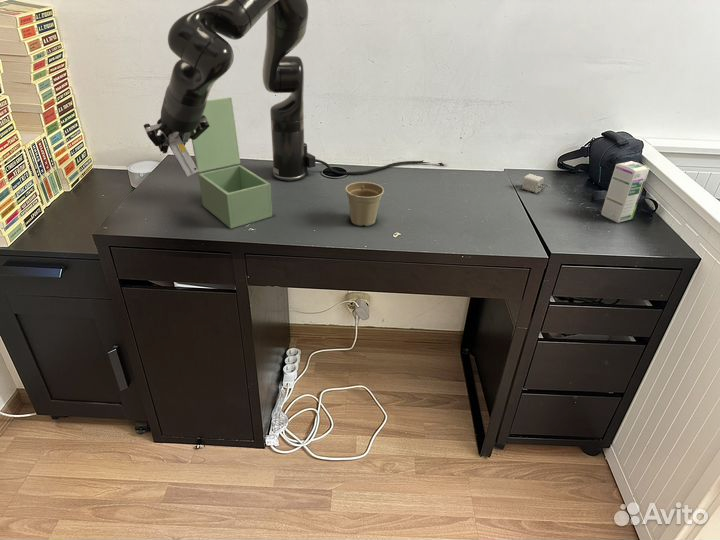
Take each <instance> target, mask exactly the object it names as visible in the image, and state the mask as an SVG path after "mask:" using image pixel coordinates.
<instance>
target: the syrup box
mask: <svg viewBox="0 0 720 540" xmlns="http://www.w3.org/2000/svg"><path fill="white" fill-rule="evenodd" d="M650 169H651V168H650V167H649V166H647V165H644V164H642V163H639V162H636V161H632V160H630V161H626V162H620V163H616V164H615V167H614V169H613V173H612V176H611V179H610V183H609V186H608V189H607V192H606V195H605V198H604V202H603V206H602V208H601V212H600V215H601V216H603V217H604V218H606V219H608V220H611V221H613V222H614V223H617V224H620V223H622V222H626V221H630V220H631V221H632V220H633V218H634V216H635V213H636V210H637V206H638V204H639V201H640V197H641V195H642V192H643V189H644V186H645V183H646V180H647V177H648V175H649V172H650Z"/></svg>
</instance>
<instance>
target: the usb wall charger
mask: <svg viewBox="0 0 720 540" xmlns="http://www.w3.org/2000/svg"><path fill="white" fill-rule="evenodd" d="M544 181H545V178H544V177H543V176H539V175H535V174H532V173H528V174H527V175H525V176H524V178H523V182H522V185H521V186H522V187H521V190H525V191H528V192H531V193H534V194H538V193H539V192H541V190H545V191H547V190H548V189H550V188H551V185H549V184H545V183H544Z"/></svg>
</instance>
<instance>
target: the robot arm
mask: <svg viewBox="0 0 720 540" xmlns="http://www.w3.org/2000/svg"><path fill="white" fill-rule="evenodd" d="M265 13H266V21H265V22H266V23H265V26H266V28H265V29H266V35H265V48H264V55H263V61H262V68H261V69H262V70H261V73H262V75H261V76H262V84H263V86H264V88H265V90H266V91H267V92H269V93H270V94H271V93H272V94H289V96H288V97H286V98H285V99H284V100H282V101H280V102H277V103H275V104H274V105H272V106H271V107H270V111H269V114H270V116H269V117H270V133H271V149H272V172H273V173H272V175H273V177H274V178H275V179H277V180H279V181H284V182H293V181H298V180H301V179H304V178H305V176H308V175H309V171H308V169H312V168H315V167H316V163H319V164H322V165H323V166H325V167H326V168H327V169H328V170H329V171H330V172H332V173H335V174H337V175H345V176H349V175H350V176H352V175H365V174H369V173H373V172H378V171H381V170H385V169H388V168H391V167H394V166H399V165H408V164H412V165H413V164H428V163H429V162H423V161H424V160H405V161H397V162H392V163H389V164H386V165H383V166H380V167H375V168H371V169H367V170H360V171H339V170H336V169H333V168H332V167H331V166H330V165H329V164H328V163H327V162H325V161H323V160H321V159H316V155H313V154H311V153H309V152H308V144H307V143H306V142H305V122H304V121H305V119H304V118H305V117H304V113H305V112H304V92H305V91H304V90H305V89H304V88H305V87H304V86H305V69H304V68H305V67H304V63H303V60H302V58H301V57H300V56H296V55H288V54H289V53H290V52H292V51H293V50H294V49H295V48H296V47H297V46H298V45H300V43H301V41H302V40H303V39H304V37H305V35H306V32H307V26H308V20H309V4H308V1H307V0H212V1H211V2H209V3H207V4H205V5H203V6H201V7H199V8H196V9H195V10H192V11H190V12H187V13H185V14H184V15H182V16H180V17H179V18H178V19H176V21H174V23H173V24H172V25H171V27H170V29H169V30H168V33H167V45H168V47H169V49H170V50H171V52H172V53H173V54H174V55H175V56H176V57H178V58H179V60H177V61H176V63H174V65H173V67H172V68H173V69H172V71H171V74H170V78H169V83H168V85H167V86H166V89H165V93H164V97H163V101H162V105H161V109H160V118H158V120H157V121H156V124H152V125H151V124H150V123H145V124H144V125H143V128H144V130H145V133H146V135H147V137H148V138H149V140H150V141H151V142H152V144H153V145H154V146H155V147H158V148H159V152H160V153H162V154H163V155H164V154H168V150H169V148H170V146H169V143H170V142H173V140H174V139H175V137H176V136H177V135H179V137H180V139H181V140H182V142H183V144H184V146H185V147H186V144H187V143H188V142H189V140H191V141H192V140H195V139H197V138H198V137H199V136H200V135H201V134H202V133H203V132H204V131H205V130H206V129H207V128H208V127H209V123H208V121H207V119H206V117H205V115H203V113H204V110H205V107H206V103H207V100H208V97H209V96H210V92H211V89H212V88H213V86H214V85H215V83H216V82H217V81H218V80H219V79H221V78H222V77H223V76H224V75H225V74H226V73H227V72H228V71H229V70H230V69H231V67H232V65H233V63H234V57H235V54H234V50H233V47H232V45H231V44H230V43H229V41H227V40H226V39H225V38H227V39H230V40H232V41H233V40H234V41H236V40H240V39H242V38H243V37H245V36H246V34H248V32H249V31H250V30H251V29H252V28H253V27H254V26H255V25H256V23H257V22H258V21H259V20H260V19H261V18H262V17H263V16H264V15H265ZM224 37H225V38H224ZM194 130H196V132H195V133H194ZM159 131H160V133H159ZM158 133H159V134H158ZM437 164H438V165H440V167H445V164H444V163H443V162H441V163H437Z"/></svg>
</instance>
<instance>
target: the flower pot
mask: <svg viewBox="0 0 720 540" xmlns="http://www.w3.org/2000/svg"><path fill="white" fill-rule="evenodd" d="M344 191H345V192H346V195H347V198H348V206H349V216H350V222H351V223H352V224H353V225H355V226H359V227H361V226H365V227H369V226H371V225H374V224H375V223H376V221H377V220H376V219H377V214H378V210H379V206H380V201H381V199H382V196H383V195H384V193H385V189H384V187H383V186H382V185H380V184H378V183H376V182H375V183H374V182H371V181H355V182H352V183H349V184H347V185H346V186H345V190H344Z"/></svg>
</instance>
